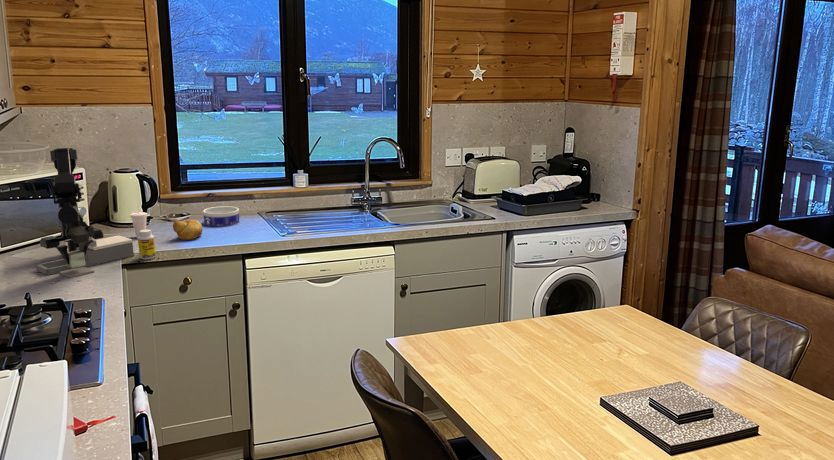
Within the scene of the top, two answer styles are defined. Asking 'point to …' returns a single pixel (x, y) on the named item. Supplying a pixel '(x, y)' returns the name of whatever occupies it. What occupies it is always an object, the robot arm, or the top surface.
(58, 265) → the grey long stepped bar
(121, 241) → the cover
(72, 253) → the block
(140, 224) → the smoothie
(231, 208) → the dog bowl
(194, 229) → the bread roll
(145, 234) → the supplement bottle
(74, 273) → the pad
